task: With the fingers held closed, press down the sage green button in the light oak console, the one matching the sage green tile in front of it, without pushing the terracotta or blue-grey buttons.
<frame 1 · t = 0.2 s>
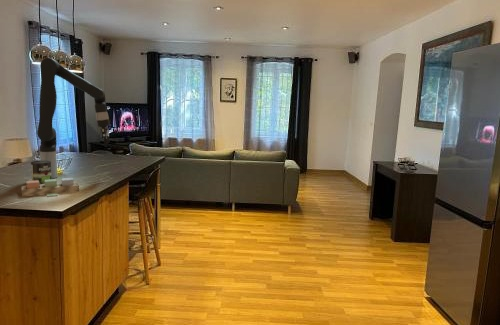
hand: (107, 143, 243), 22 cm above the countertop, tool pointing down, fingers open, 8 cm apart
terracotta button: (32, 185, 197), point 4 cm above the countertop, slide at 0.0 cm
sage button: (50, 183, 202), point 5 cm above the countertop, slide at 0.0 cm
console: (51, 191, 202), on the countertop
coffee can: (42, 185, 217), on the countertop
prompt tile: (52, 195, 195), on the countertop
blue-grey button: (67, 182, 206), point 4 cm above the countertop, slide at 0.0 cm
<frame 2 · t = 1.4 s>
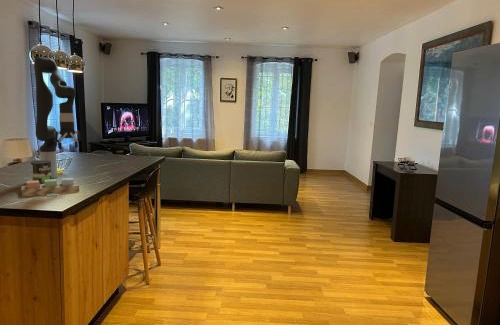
hand: (68, 148, 215), 22 cm above the countertop, tool pointing down, fingers open, 8 cm apart
nothing on the countertop moved.
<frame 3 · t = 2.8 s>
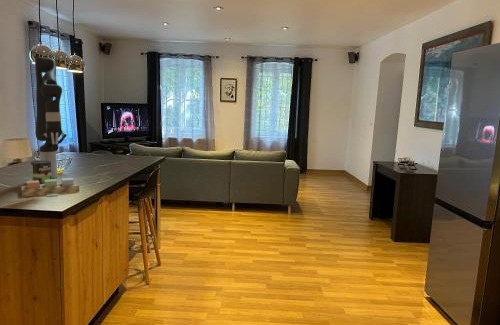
hand: (55, 150, 210), 21 cm above the countertop, tool pointing down, fingers closed
nothing on the countertop moved.
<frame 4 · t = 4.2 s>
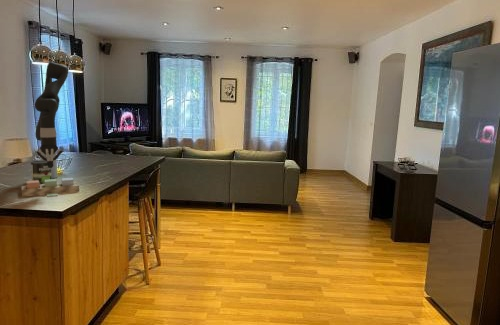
hand: (50, 167, 200), 14 cm above the countertop, tool pointing down, fingers closed
nothing on the countertop moved.
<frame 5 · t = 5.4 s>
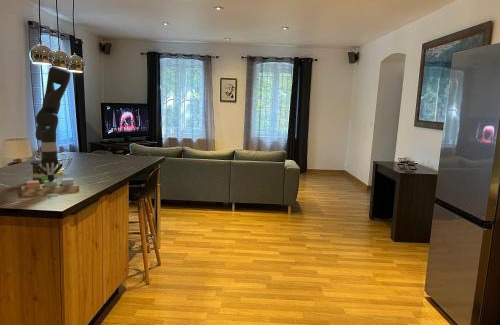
hand: (50, 181, 201), 6 cm above the countertop, tool pointing down, fingers closed
sage button: (50, 184, 202), point 4 cm above the countertop, slide at 0.6 cm, touching gripper
everything else where it was.
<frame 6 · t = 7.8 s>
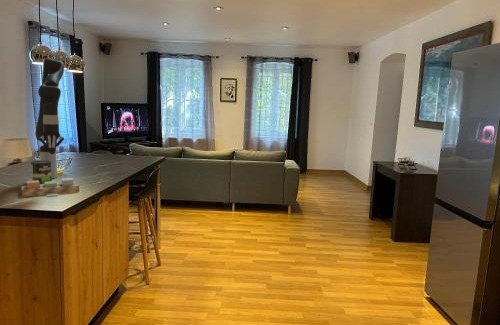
hand: (52, 154, 204), 20 cm above the countertop, tool pointing down, fingers closed
sage button: (50, 185, 202), point 3 cm above the countertop, slide at 1.2 cm
everything else where it was.
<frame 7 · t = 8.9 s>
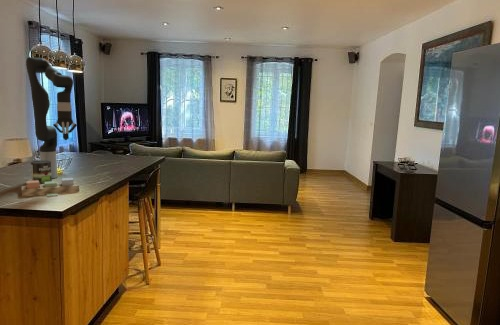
hand: (65, 139, 216), 27 cm above the countertop, tool pointing down, fingers closed
nothing on the countertop moved.
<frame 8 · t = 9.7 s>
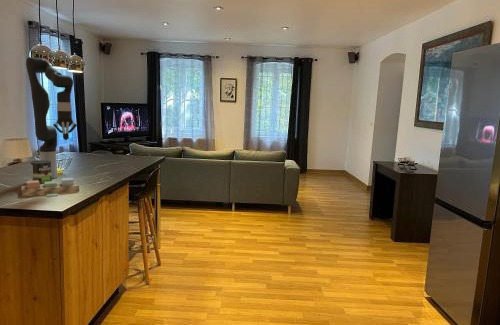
hand: (65, 139, 216), 27 cm above the countertop, tool pointing down, fingers closed
nothing on the countertop moved.
at the end: sage button slide at 1.2 cm; terracotta button slide at 0.0 cm; blue-grey button slide at 0.0 cm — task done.
